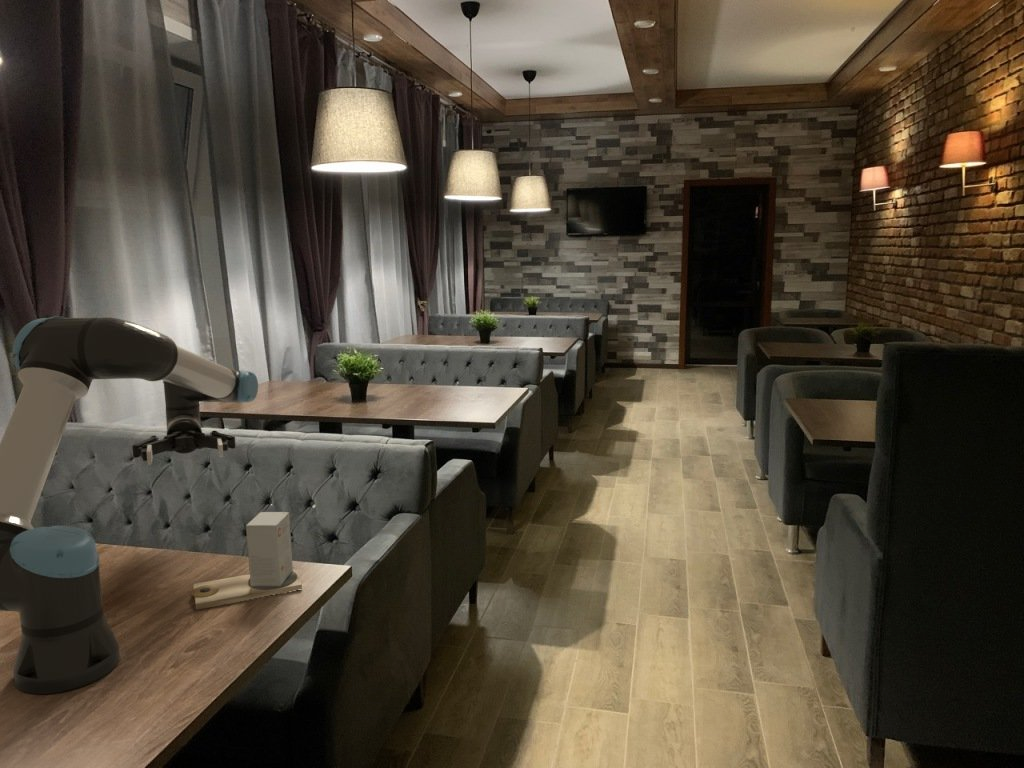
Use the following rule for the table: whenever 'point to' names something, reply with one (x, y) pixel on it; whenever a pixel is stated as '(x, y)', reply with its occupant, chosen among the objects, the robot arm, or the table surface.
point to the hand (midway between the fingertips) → (185, 454)
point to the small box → (269, 548)
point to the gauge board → (238, 590)
